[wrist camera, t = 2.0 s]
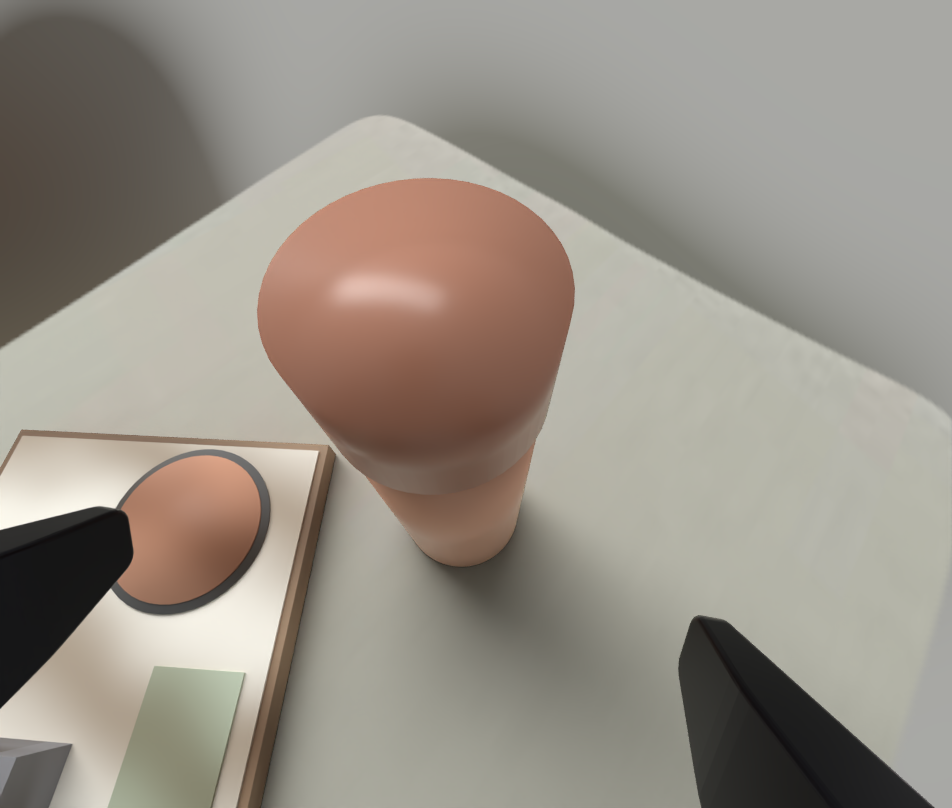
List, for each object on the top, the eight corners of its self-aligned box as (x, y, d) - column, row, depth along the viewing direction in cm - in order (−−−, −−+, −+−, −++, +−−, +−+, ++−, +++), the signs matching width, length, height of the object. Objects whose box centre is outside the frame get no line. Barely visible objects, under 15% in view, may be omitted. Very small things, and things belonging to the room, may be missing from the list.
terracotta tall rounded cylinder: (519, 573, 17) (580, 435, 6) (396, 565, 17) (214, 419, 6) (521, 456, 19) (570, 180, 8) (412, 451, 20) (299, 175, 8)
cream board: (202, 1079, 12) (119, 1206, 9) (-273, 1021, 12) (-479, 1124, 10) (335, 454, 20) (311, 424, 17) (37, 438, 20) (-31, 407, 18)
